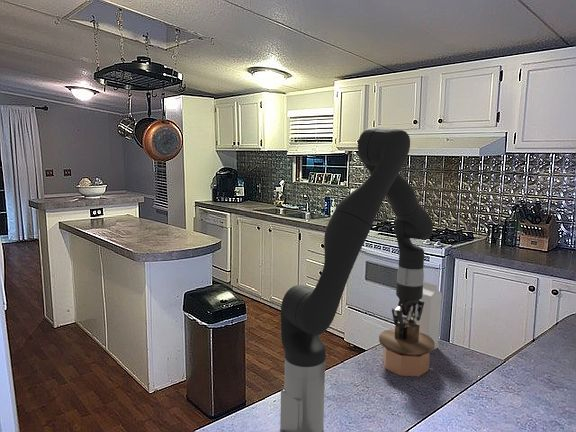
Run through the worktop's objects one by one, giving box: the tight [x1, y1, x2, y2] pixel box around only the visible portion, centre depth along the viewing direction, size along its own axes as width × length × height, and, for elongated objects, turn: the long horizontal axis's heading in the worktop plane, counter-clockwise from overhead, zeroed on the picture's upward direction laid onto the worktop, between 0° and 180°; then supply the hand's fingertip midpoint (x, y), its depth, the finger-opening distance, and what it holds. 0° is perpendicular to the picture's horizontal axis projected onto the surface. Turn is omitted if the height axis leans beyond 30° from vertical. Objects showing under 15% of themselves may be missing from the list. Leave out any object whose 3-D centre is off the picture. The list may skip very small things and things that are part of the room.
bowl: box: [382, 346, 431, 377], centre depth 129 cm, size 13×13×6 cm
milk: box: [416, 281, 443, 350], centre depth 140 cm, size 6×6×22 cm
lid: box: [378, 320, 435, 355], centre depth 128 cm, size 16×16×6 cm
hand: (406, 336), depth 128 cm, fingers closed on lid, 3 cm apart
